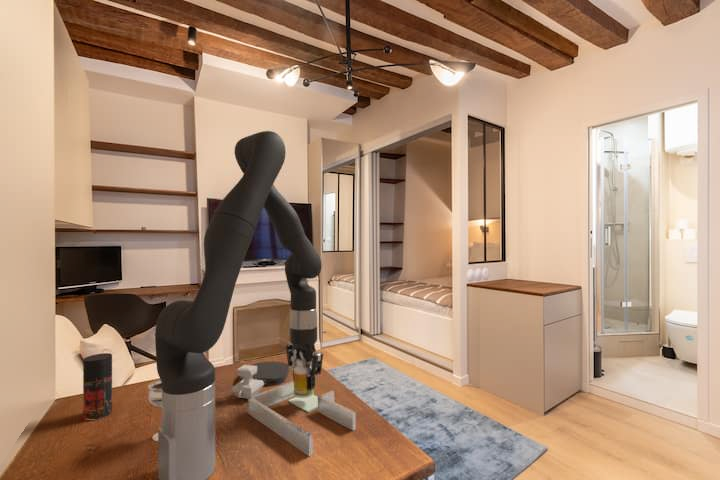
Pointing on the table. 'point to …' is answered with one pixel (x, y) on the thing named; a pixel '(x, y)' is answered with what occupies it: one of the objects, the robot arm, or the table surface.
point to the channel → (286, 428)
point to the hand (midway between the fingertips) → (303, 385)
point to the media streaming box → (271, 372)
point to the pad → (306, 403)
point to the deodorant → (97, 386)
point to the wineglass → (155, 397)
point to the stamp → (247, 382)
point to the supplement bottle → (301, 381)
